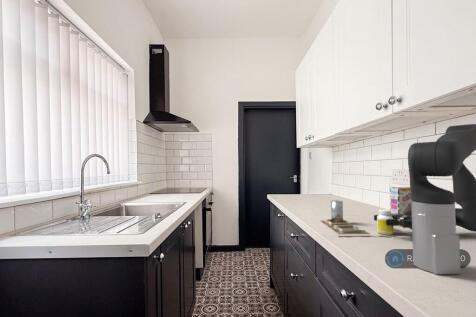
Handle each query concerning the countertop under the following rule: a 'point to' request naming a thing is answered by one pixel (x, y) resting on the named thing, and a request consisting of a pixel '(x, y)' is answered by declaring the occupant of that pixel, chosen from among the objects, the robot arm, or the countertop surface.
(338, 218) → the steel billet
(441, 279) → the countertop surface
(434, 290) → the countertop surface
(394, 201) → the candy bar box
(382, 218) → the supplement bottle
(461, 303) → the countertop surface
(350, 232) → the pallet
